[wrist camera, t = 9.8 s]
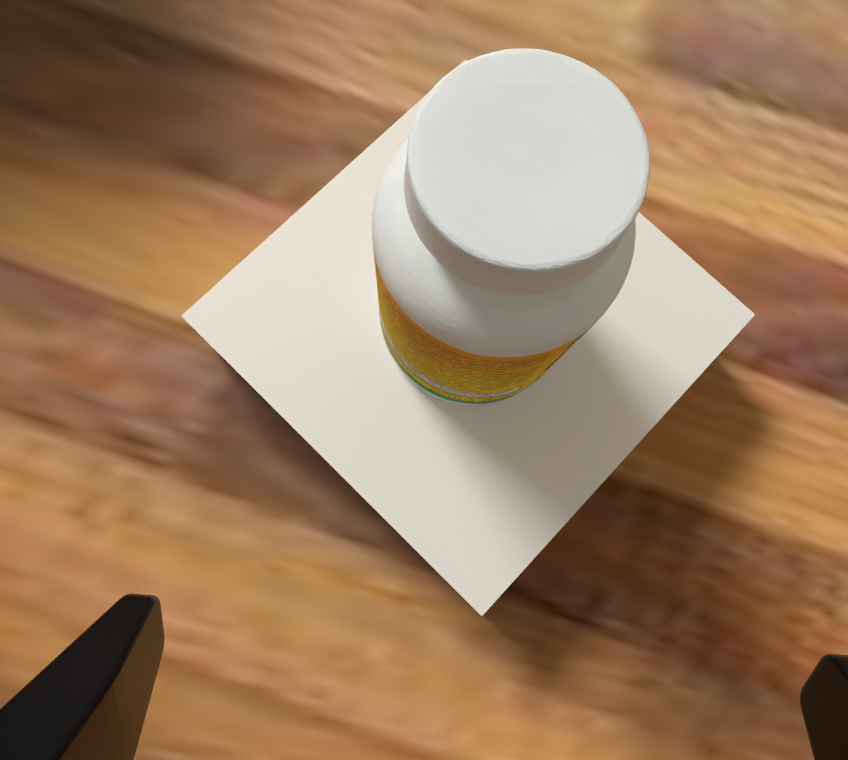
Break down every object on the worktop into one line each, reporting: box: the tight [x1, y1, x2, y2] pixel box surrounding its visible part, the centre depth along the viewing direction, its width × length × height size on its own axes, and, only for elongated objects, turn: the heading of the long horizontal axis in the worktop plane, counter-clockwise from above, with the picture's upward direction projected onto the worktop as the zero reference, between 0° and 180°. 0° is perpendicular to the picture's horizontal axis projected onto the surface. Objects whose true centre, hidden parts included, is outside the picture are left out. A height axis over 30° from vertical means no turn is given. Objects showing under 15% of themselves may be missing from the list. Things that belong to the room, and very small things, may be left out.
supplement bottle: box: [372, 49, 650, 406], centre depth 16 cm, size 5×5×10 cm
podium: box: [182, 59, 755, 616], centre depth 23 cm, size 12×12×4 cm
